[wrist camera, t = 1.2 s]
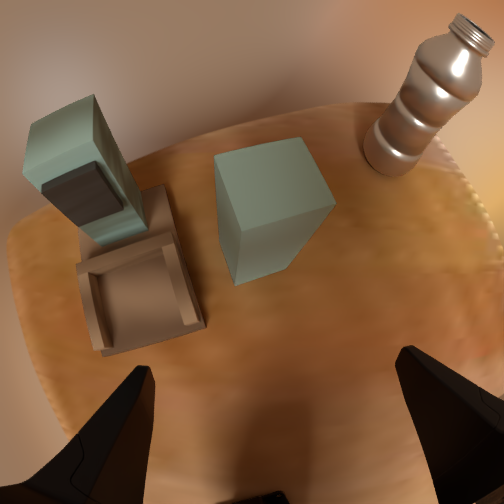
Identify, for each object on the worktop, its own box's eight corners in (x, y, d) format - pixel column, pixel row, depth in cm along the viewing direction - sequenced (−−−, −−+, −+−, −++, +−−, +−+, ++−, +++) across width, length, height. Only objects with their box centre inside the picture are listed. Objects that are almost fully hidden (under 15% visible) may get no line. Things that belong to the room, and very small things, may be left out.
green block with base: (206, 327, 22) (178, 313, 9) (107, 356, 20) (1, 361, 8) (165, 189, 25) (129, 80, 13) (81, 219, 23) (5, 139, 11)
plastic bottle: (346, 151, 28) (430, -2, 9) (376, 130, 30) (452, 4, 11) (388, 194, 27) (507, 59, 8) (413, 167, 29) (510, 54, 10)
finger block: (285, 268, 24) (336, 203, 12) (234, 285, 23) (241, 231, 11) (266, 220, 25) (296, 128, 13) (217, 235, 24) (210, 146, 13)
